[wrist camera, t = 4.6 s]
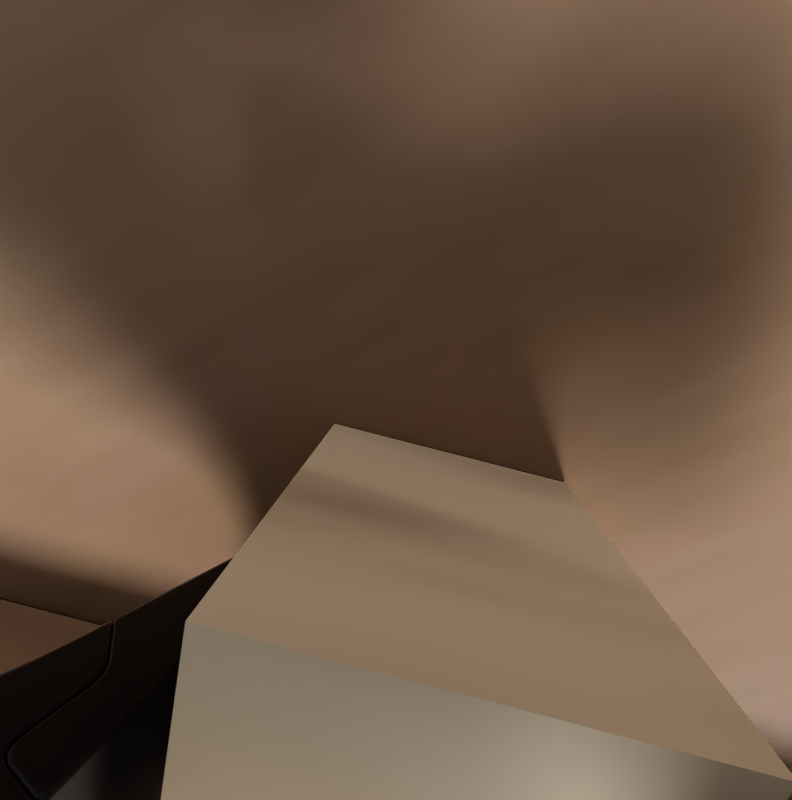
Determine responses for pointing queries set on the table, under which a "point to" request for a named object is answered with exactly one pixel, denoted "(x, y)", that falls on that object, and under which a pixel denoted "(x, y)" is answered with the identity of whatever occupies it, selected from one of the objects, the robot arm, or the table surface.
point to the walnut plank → (34, 633)
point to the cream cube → (445, 651)
